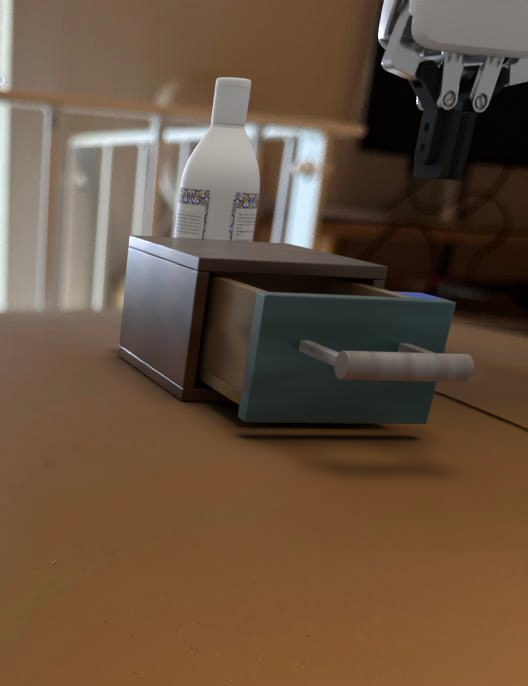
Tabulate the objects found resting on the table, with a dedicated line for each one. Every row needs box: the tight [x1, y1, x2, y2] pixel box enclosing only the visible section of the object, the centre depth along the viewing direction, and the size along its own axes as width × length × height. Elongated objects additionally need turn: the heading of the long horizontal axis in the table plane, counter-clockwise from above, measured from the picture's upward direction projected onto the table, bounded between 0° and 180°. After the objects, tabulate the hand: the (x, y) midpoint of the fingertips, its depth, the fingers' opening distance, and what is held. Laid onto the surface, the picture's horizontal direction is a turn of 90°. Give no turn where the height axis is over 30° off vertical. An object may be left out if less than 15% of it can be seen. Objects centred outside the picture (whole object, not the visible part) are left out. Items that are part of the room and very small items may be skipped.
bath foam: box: [173, 76, 261, 242], centre depth 85 cm, size 7×7×20 cm
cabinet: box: [117, 234, 388, 403], centre depth 67 cm, size 15×13×9 cm
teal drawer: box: [196, 272, 475, 425], centre depth 56 cm, size 19×11×7 cm, turn 12°
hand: (436, 178), depth 65 cm, fingers closed
